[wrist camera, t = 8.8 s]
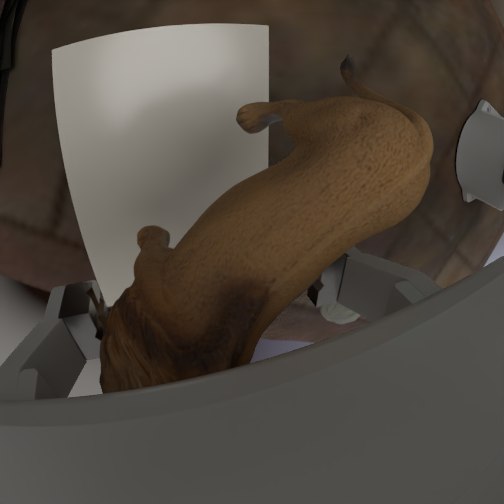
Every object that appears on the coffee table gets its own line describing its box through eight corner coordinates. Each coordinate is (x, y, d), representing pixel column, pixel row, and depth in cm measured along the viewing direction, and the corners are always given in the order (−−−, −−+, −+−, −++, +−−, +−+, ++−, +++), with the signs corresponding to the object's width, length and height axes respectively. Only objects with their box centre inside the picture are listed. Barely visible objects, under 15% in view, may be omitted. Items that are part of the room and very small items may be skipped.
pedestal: (241, 37, 20) (268, 25, 15) (244, 240, 31) (266, 274, 26) (73, 58, 16) (51, 49, 11) (110, 266, 27) (107, 306, 22)
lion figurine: (195, 342, 14) (232, 515, 6) (97, 300, 12) (65, 495, 4) (379, 97, 11) (571, 135, 3) (292, 13, 8) (484, -71, 1)
